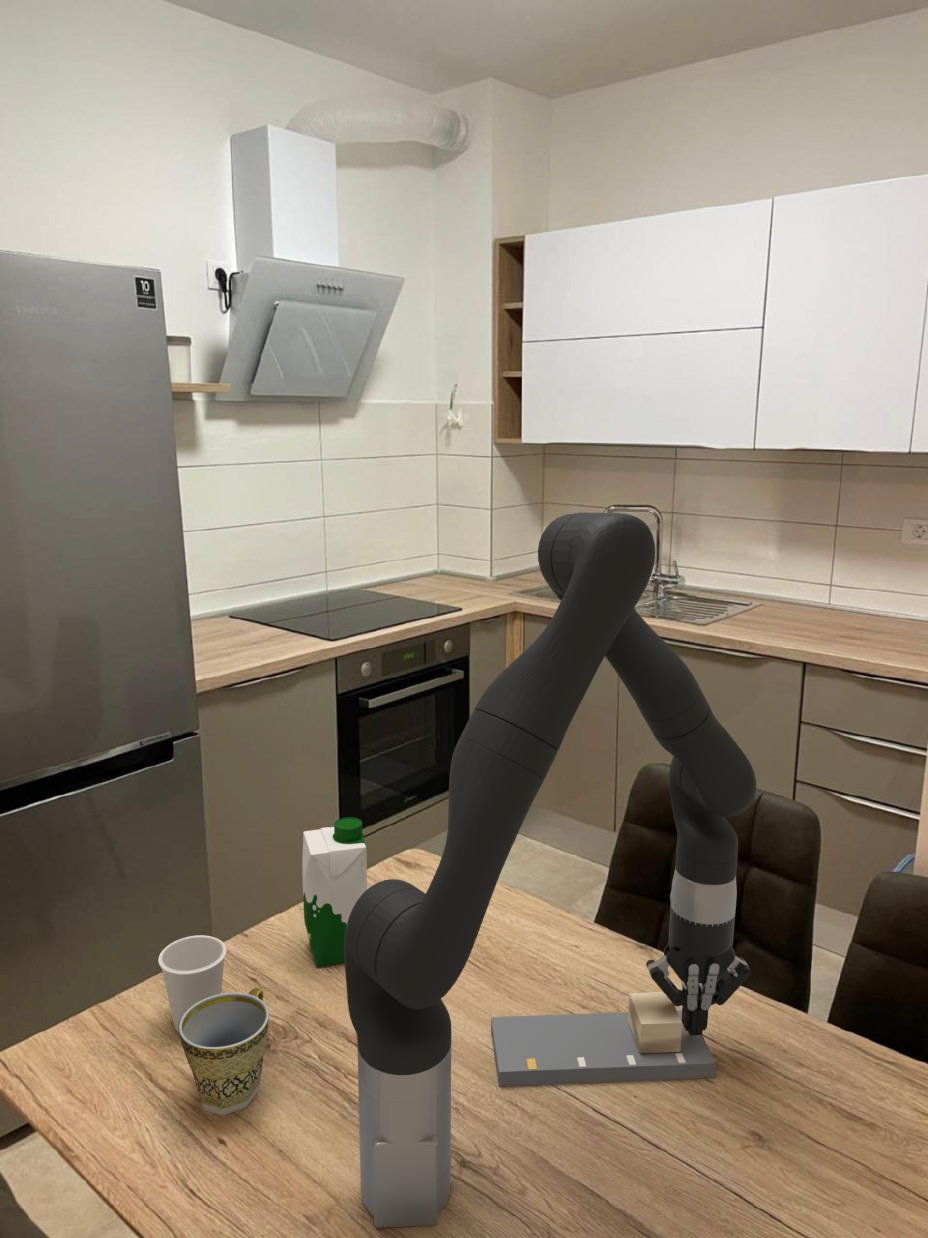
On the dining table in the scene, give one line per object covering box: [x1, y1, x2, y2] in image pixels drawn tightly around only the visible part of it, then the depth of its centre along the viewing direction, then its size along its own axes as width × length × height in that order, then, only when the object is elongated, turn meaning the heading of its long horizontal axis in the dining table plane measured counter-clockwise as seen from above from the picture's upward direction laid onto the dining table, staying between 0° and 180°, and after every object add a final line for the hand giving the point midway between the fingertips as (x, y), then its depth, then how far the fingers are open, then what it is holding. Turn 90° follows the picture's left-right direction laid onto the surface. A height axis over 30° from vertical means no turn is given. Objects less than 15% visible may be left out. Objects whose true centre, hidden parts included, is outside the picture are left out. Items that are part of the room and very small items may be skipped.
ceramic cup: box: [178, 987, 270, 1116], centre depth 108 cm, size 13×10×10 cm
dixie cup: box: [158, 934, 227, 1033], centre depth 119 cm, size 8×8×10 cm
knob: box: [627, 991, 682, 1053], centre depth 114 cm, size 6×5×4 cm
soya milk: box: [301, 816, 368, 969], centre depth 134 cm, size 9×9×20 cm
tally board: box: [490, 1009, 717, 1088], centre depth 115 cm, size 10×26×2 cm, turn 94°
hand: (693, 1031), depth 115 cm, fingers closed
